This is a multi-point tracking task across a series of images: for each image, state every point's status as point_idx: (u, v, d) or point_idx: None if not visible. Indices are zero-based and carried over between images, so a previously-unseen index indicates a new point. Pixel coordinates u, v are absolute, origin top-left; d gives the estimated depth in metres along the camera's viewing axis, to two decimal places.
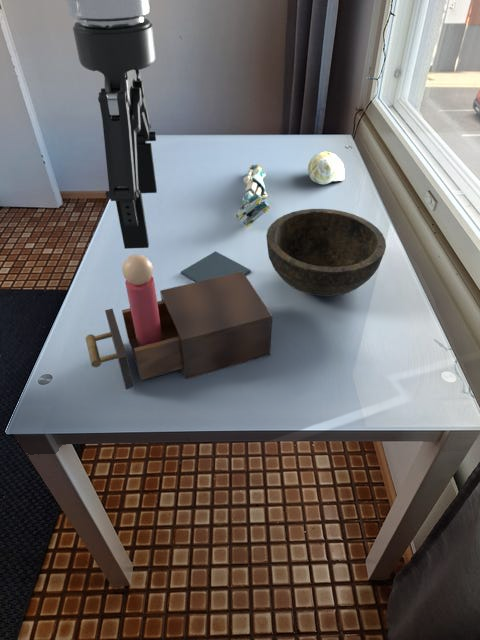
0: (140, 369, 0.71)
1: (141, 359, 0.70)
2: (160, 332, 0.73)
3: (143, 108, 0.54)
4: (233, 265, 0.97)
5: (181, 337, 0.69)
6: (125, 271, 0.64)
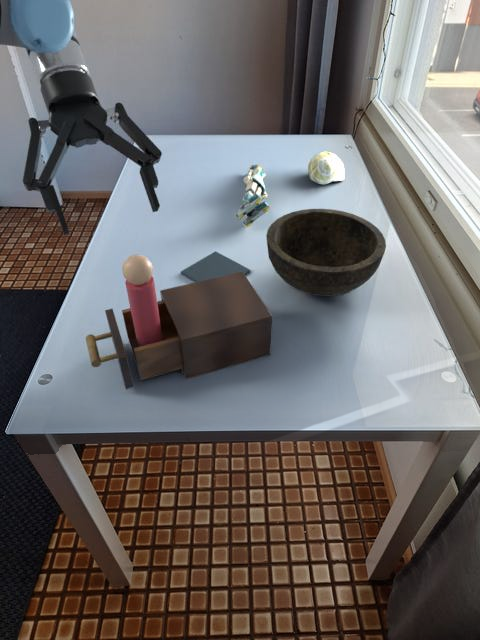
0: (140, 369, 0.71)
1: (141, 359, 0.70)
2: (160, 332, 0.73)
3: (67, 149, 0.70)
4: (233, 265, 0.97)
5: (181, 337, 0.69)
6: (125, 271, 0.64)
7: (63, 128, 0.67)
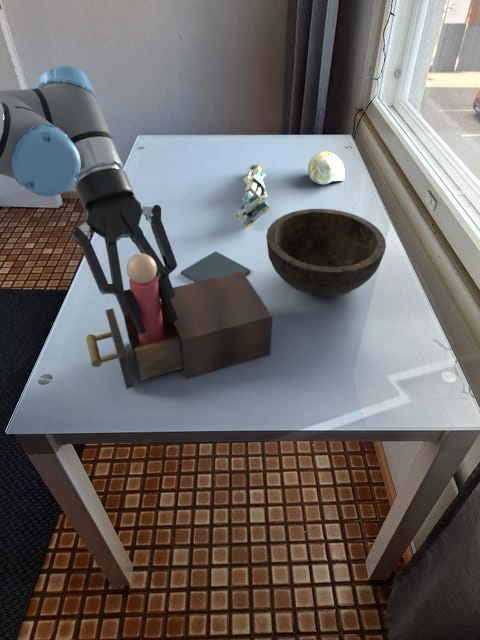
0: (141, 369, 0.71)
1: (142, 359, 0.70)
2: (162, 331, 0.74)
3: None
4: (233, 265, 0.97)
5: (181, 337, 0.69)
6: (130, 269, 0.64)
7: (107, 228, 0.67)
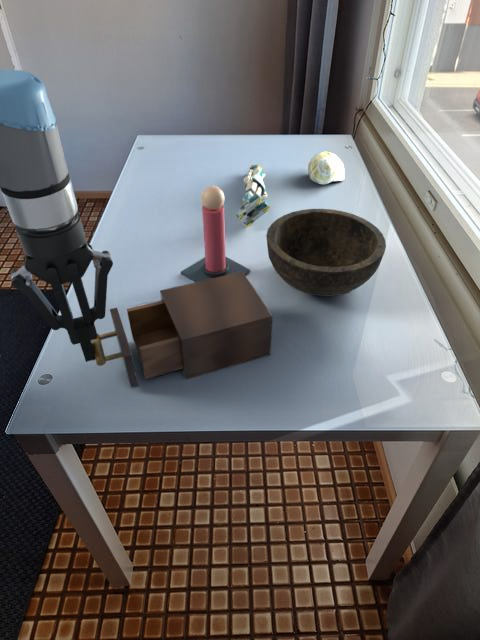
0: (145, 368, 0.72)
1: (146, 357, 0.70)
2: (224, 253, 0.92)
3: None
4: (233, 265, 0.97)
5: (181, 337, 0.69)
6: (205, 197, 0.83)
7: (51, 281, 0.60)
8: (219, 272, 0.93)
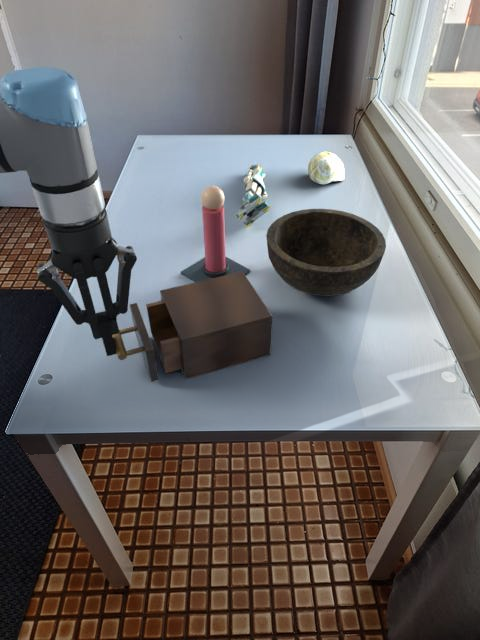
0: (166, 362, 0.72)
1: (167, 352, 0.71)
2: (224, 253, 0.92)
3: None
4: (233, 265, 0.97)
5: (181, 337, 0.69)
6: (205, 197, 0.83)
7: (77, 276, 0.61)
8: (219, 272, 0.93)
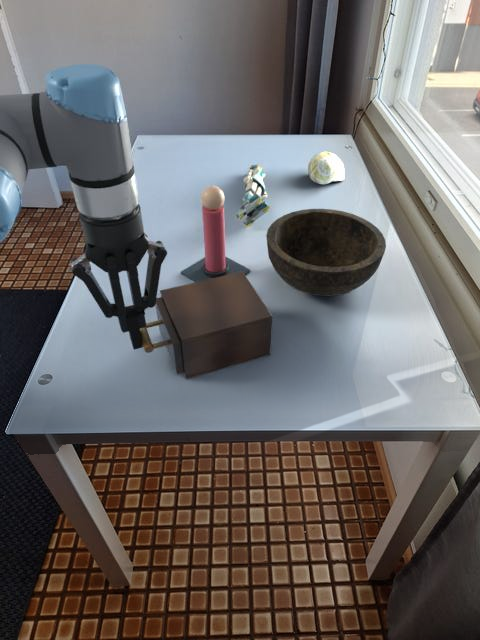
0: None
1: None
2: (224, 253, 0.92)
3: None
4: (233, 265, 0.97)
5: (181, 337, 0.69)
6: (205, 197, 0.83)
7: (109, 269, 0.62)
8: (219, 272, 0.93)
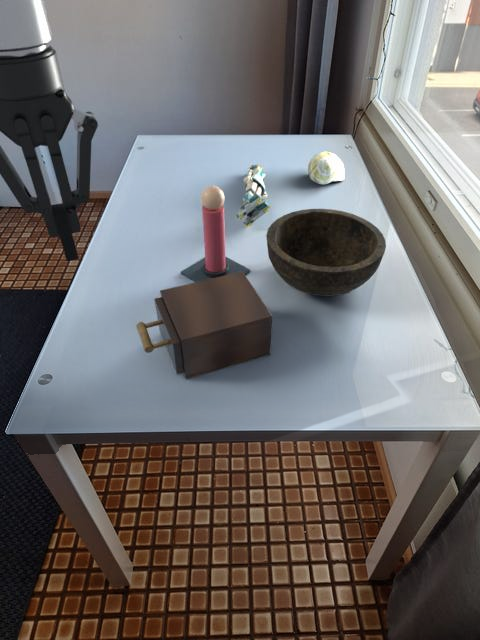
0: None
1: None
2: (224, 253, 0.92)
3: None
4: (233, 265, 0.97)
5: (181, 337, 0.69)
6: (205, 197, 0.83)
7: (21, 139, 0.49)
8: (219, 272, 0.93)
